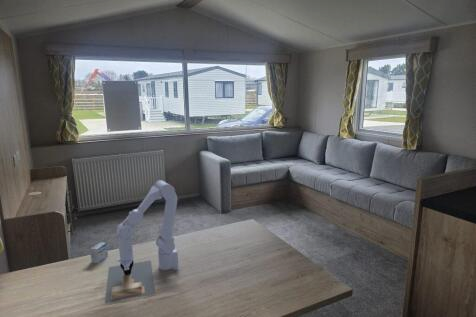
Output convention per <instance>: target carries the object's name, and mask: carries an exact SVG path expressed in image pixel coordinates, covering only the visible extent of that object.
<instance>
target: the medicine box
mask: <svg viewBox="0 0 476 317" xmlns="http://www.w3.org/2000/svg"><path fill="white" fill-rule="evenodd" d="M89 253H90V262H91V263H92V264H100V263H102V262H103V261H104V260H105V259H106V258H108V257H109V254H108V253H109V252H108V243H107V242H104V241H103V242H98V243H96V244H95V245H94V246H92V247H91V248H89Z"/></svg>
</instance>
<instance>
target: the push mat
mask: <svg viewBox="0 0 476 317" xmlns="http://www.w3.org/2000/svg"><path fill="white" fill-rule="evenodd" d="M107 272H108V274H107V281H106V289H105V290H106V291H105V298H104V304H108V306H109V305H111V303H113V305H115V304H116V302H118V301H119V302H118V304H120V303H121V301H122V300H125V301H123V303H125V302H126V300H128V299H130V300H128V302H129V301H131V299H133V301H134V300H135V301H136V298H138V299H141V298H140V297H143V299H144V298H146V296H148V298H150V297H151V295H153V297H155V295H154V294H156V290H155V281H154V275H153V274H154V273H153V266H152V260H145V261H139V262H133V267H132V269H131V278H132V284H133V283H138V282H141V283H142V292H137V293H132V294H127V295H122V296H116V297H112V287H116V286H122V285H123V275H125V274H124V271H123V269H122V268H121V266H120V265H114V266H109V267H108V271H107ZM114 302H115V303H114Z"/></svg>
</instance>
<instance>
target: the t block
mask: <svg viewBox="0 0 476 317" xmlns="http://www.w3.org/2000/svg"><path fill="white" fill-rule="evenodd" d="M137 292H142V283H141V282H138V283H133V284H132V278H131V274H129V275H123V285H122V286H116V287H112V297H116V296H122V295H127V294H132V293H137Z"/></svg>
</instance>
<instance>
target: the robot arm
mask: <svg viewBox="0 0 476 317" xmlns="http://www.w3.org/2000/svg"><path fill="white" fill-rule="evenodd" d="M162 199H163V200H165V205H164V211H163V212H164V214H163V218H162V219H163V220H162V226H161V227H162V228H161V231H160V232H159V233H158V236H157V238H156V240H155V244H156V245H155V246H157V248H158V250H157V254H158V268H159V269H160V270H162V271H166V270H167V271H168V270H171V269H173V271H177V270H179V253H178V250H177V249H176V248H175V247H176V245H175V237H174V232H173V230H174V225H175V220H176V213H177V208H178V207H177V205H178V196H177V193H176V189H175V187H174V186H173V185H172V184H169V183H168V182H166V181H164V180H163V179H162V180H161V179H159V180H157V181H156V182H154V184H153V185H152V186H151V187H150V189H149V191H148V193H147V195H146V196H145V197H144V198H143V200H142V201H141V203H140V204H139V206H138V207H137V208H135V209H132V210H131V211H129V212H128V215H127V217H126V218H125V219H124V220H122V222H121V223H120V224H118V225H117V227H116V229H115V231H116V234H117V235H118V236H117V237H118V251H119V257H118V258H117V263H120V264H119V266H121V268H122V269H123V271H124V274H125V275H129V274H131V269H132V267H133V263H134V260H135V259H134V250H133V238H132V236H133V235H134V230H135V228H136V227H137V226H138V224H140V222H141V221H142V219H143V218H144V213H145V212H146V211H147V210H148V209H149V207H150V206H151V205H152V204H153V203H154V201H157V200H162Z"/></svg>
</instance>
